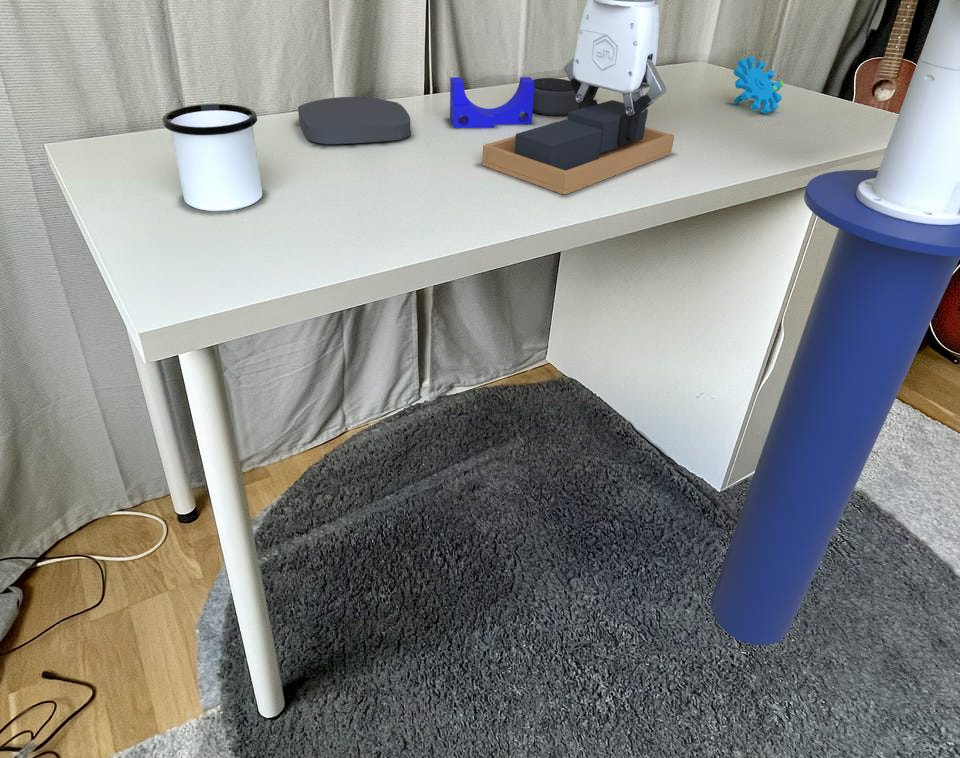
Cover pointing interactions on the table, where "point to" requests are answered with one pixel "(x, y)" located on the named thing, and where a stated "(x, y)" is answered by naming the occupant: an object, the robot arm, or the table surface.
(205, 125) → the mug
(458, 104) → the blue bracket
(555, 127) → the pad
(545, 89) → the smart speaker
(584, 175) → the tray
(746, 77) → the blue knobby piece
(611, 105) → the pad
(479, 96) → the table surface
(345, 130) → the media streaming box
